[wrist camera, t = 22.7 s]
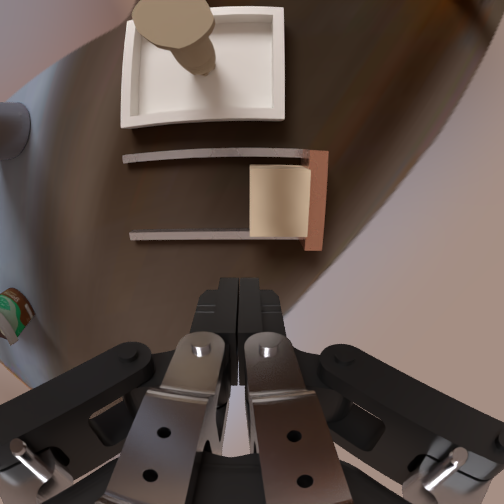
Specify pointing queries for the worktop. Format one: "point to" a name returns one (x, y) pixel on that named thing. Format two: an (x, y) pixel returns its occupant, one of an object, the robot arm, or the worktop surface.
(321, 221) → the track
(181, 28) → the handle
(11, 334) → the food container
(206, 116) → the tray
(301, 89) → the worktop surface
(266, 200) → the block
